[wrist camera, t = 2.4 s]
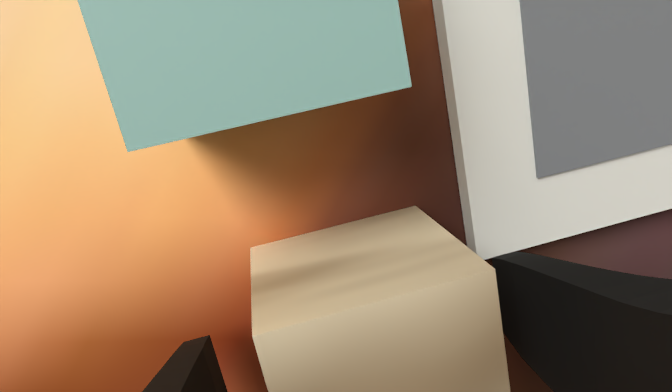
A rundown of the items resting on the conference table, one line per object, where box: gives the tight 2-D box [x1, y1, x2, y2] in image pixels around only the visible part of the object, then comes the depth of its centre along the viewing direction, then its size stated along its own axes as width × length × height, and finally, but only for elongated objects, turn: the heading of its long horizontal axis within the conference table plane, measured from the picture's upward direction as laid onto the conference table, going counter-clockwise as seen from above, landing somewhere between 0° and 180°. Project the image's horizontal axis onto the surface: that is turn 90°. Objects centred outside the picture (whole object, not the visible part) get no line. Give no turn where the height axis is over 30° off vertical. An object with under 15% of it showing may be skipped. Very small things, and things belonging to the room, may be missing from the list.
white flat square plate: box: [432, 0, 672, 260], centre depth 13 cm, size 9×9×1 cm
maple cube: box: [250, 206, 510, 392], centre depth 11 cm, size 4×4×4 cm
